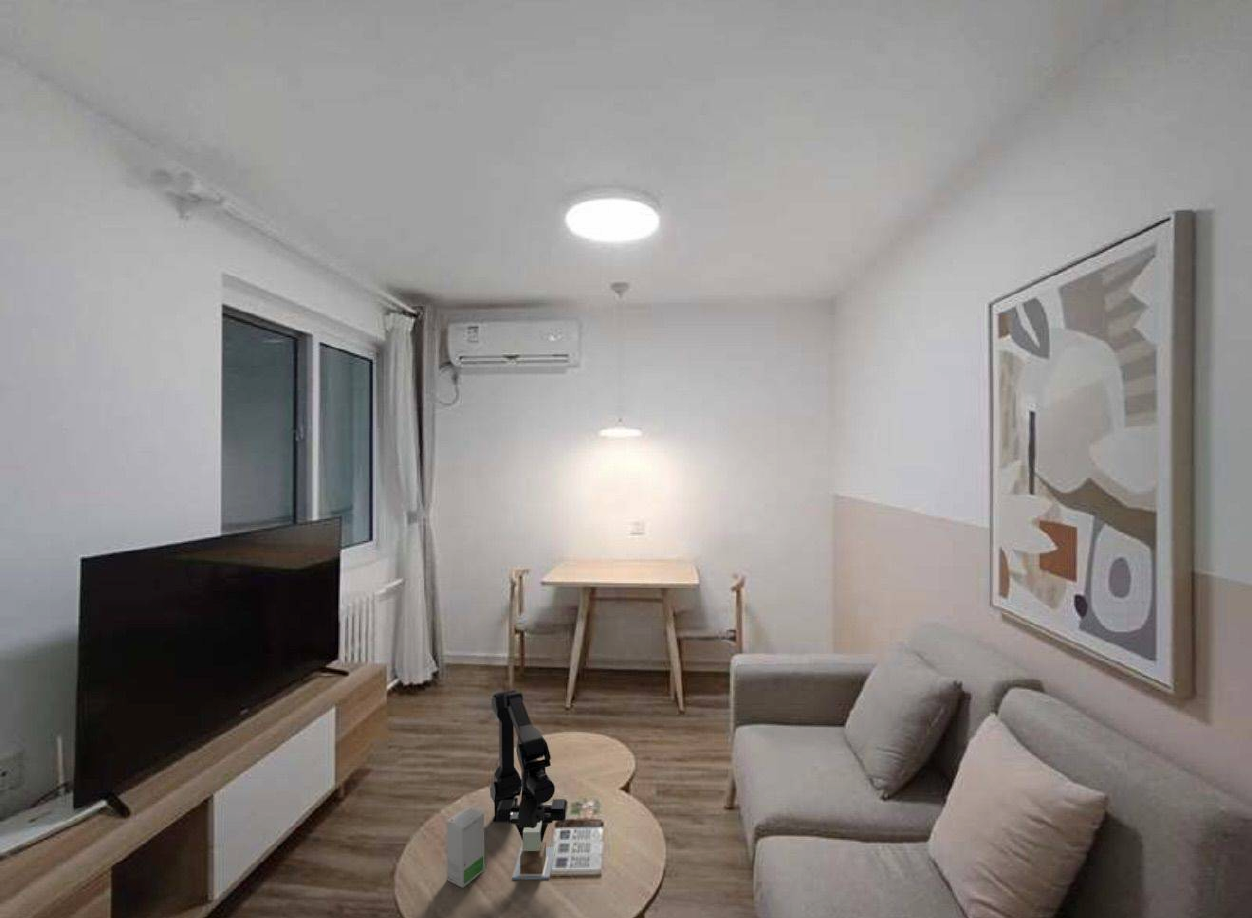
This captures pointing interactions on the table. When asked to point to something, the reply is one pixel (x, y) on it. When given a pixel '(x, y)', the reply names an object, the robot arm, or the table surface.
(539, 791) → the robot arm
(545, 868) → the board
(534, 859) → the walnut block
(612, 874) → the table surface
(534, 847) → the sage block
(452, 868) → the skincare box
